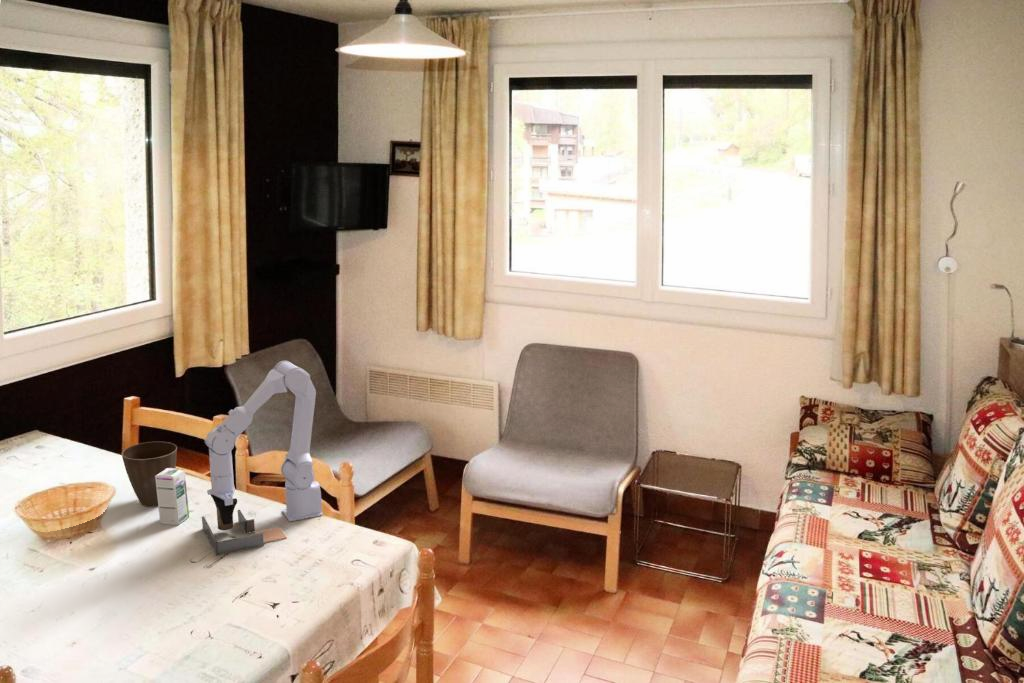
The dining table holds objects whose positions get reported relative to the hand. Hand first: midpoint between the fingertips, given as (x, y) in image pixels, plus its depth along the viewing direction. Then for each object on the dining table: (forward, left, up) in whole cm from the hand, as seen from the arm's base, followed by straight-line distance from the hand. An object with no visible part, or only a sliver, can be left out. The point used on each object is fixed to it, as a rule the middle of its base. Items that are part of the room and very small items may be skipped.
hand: (225, 520), depth 253 cm
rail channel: (-1, +4, -4) cm, 5 cm away
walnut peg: (0, 0, -2) cm, 2 cm away
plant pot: (+14, -31, -4) cm, 34 cm away
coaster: (-10, +7, -4) cm, 13 cm away
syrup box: (+11, -15, -4) cm, 19 cm away
